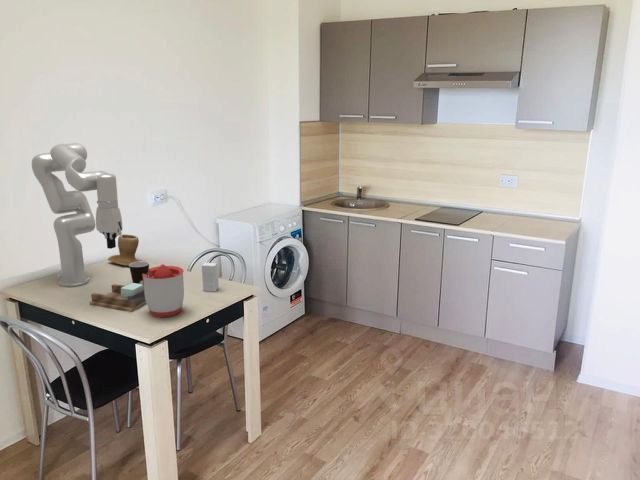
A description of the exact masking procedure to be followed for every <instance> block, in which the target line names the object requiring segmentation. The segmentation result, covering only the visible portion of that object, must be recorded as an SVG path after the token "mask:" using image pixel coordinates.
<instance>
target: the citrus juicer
mask: <svg viewBox="0 0 640 480" xmlns="http://www.w3.org/2000/svg"><path fill="white" fill-rule="evenodd" d="M148 273H149V276H147V275H146V274H142V278H143V281H141V282H140V284H143V286H144V293H145V299H146V303H147V304H146V306H147V309H148V311H149V313H150V314H151V316H155V317H163V318H164V317H173V316H174V315H177V314H179V313H180V312H181V310H182V308H183V303H184V298H185V286H184V285H185V284H184V269H183V268H182V267H179V266H176V265H175V266H174V265H165V264H161V265H158V266H154V267H149V269H148Z"/></svg>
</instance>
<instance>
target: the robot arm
mask: <svg viewBox="0 0 640 480" xmlns="http://www.w3.org/2000/svg"><path fill="white" fill-rule="evenodd" d="M87 158H88V152H87V149H86V148H85V146H84V145H83V144H81V143H78V142H73V143H61V144H56V145H54V146H53V147H52V148H51V149H50V152H44V153H39V154H36V155H35V156H33V158H32V159H31V169H32V172H33V175H34V177H35V179H36V180H37V181H38V183H39V184H40V186H41V187H42V191H43V192H44V195H45V199H46V200H47V203H48V205H49V208H50V210H51V212H52V213H54V214H56V215H61V216H58V217H57V218H55V219H54V221H53V229H54V232H55V233H54V234H55V236H56V240H57V245H58V251H59V260H60V261H59V262H60V268H61V271H58V273H57V274H56V277H58V278H60V280H59V281H58V284H59V286H61V287H65V288H66V287H67V288H70V287H71V288H72V287H73V288H74V287H79V286H83V285H85V284H86V285H87V284H88V283H89V282H90V278H89V276H86V273H85V263H84V254H83V253H84V252H83V245H82V243H81V241H80V240H79V239H78V238H77V236H78V235H82V234H86V233H87V234H88V233H91V232H93V231H95V228H96V231H98V233H100V234H102V235H104V238H105V240H106V247H107V249H111V250H112V249H114V248H115V249H116V247H117V246H116V245H117V244H116V239H117V237H119V236H120V235H123V219H122V213H121V209H120V207H119V200H118V188H117V186H118V185H117V176H116V175H115V174H114V173H109V172H106V171H103V170H97V171H96V170H95V171H85V169H86V168H87V167H86V166H87V162H86V160H87ZM84 171H85V172H84ZM52 172H53V173H52ZM55 172H64V175H65V179H66V181H67V183H68V184H69V185H70V186H71V188H73V189H75V190H70V191H68V190H66V188H65V186H64V183H63V181H62V180H61V179H60V178H59V177H58V176H56V175H55V174H54V173H55ZM90 191H96V195H97V201H96V204H97V206H98V207H96V212H95V216H94V214H93V212H92V209H91V206H90V204H89V200H88V198H87V197H86V195H85V194H84V193H85V192H90ZM83 192H84V193H83ZM68 213H71V214H68ZM62 214H64V215H62Z"/></svg>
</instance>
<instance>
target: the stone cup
mask: <svg viewBox="0 0 640 480" xmlns="http://www.w3.org/2000/svg"><path fill="white" fill-rule="evenodd" d="M117 237H118V238H117V247H118V252H119V254H114V255H111V256H110V257H108V258H107V260H108V262H112V263H114V264H117V265H122V266H125V267H126V266H129V264H130V263H133V262H139V259H137V258H136V253H137V250H138V247H139V243H140V242H139V241H140V240H139V237H138V236H136V235H132V234H125V233H124V234H122V235H119V236H117Z"/></svg>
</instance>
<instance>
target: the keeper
mask: <svg viewBox="0 0 640 480" xmlns="http://www.w3.org/2000/svg"><path fill="white" fill-rule="evenodd" d="M123 286H124V287H122V288H121V298H127V299H128V295H130V294H132V293H134V292H136V291H138V290H140V289H142V288H144V286H143V284H137V283H133V282H131V283H129V284H126V285H123Z"/></svg>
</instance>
